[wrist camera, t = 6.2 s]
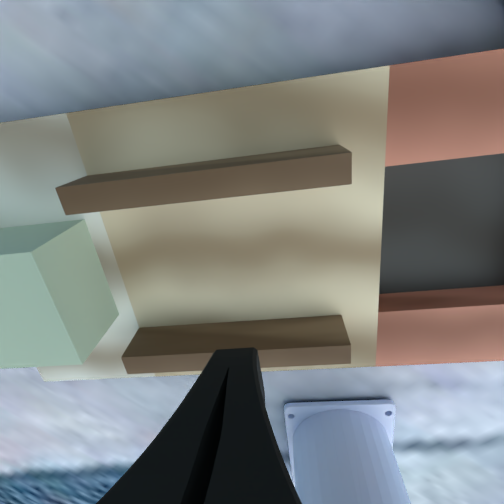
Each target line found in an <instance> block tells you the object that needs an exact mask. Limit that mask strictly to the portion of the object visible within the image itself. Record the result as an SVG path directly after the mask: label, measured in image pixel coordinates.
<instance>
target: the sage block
mask: <svg viewBox="0 0 504 504" xmlns="http://www.w3.org/2000/svg"><path fill="white" fill-rule="evenodd" d="M118 316H119V312H118V310H117V307H116V304H115V301H114V299H113V296H112V293H111V290H110V288H109V285H108V282H107V279H106V277H105V274H104V271H103V268H102V266H101V263H100V260H99V257H98V255H97V252H96V249H95V246H94V244H93V241H92V238H91V235H90V233H89V230H88V227H87V224H86V222H85V219H83V220H73V221H64V222H54V223H45V224H35V225H26V226H16V227H7V228H0V369H4V368H24V367H43V366H63V365H82V364H83V363H84V362H85V360H86V359H87V358H88V356H89V355H90V354H91V352H92V351H93V350H94V348H95V347H96V345H97V344H98V343H99V341H100V340H101V339H102V337H103V336H104V335H105V333H106V332H107V331H108V329H109V328H110V326H111V325H112V324H113V322H114V321H115V320H116V318H117V317H118Z"/></svg>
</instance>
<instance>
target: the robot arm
mask: <svg viewBox="0 0 504 504" xmlns="http://www.w3.org/2000/svg"><path fill="white" fill-rule="evenodd" d="M395 413H396V406H395V403H394V402H393V401H392V400H388V399H386V400H357V401H328V402H299V403H287V404H285V406H284V416H285V424H286V433H287V441H288V449H289V457H290V465H291V474H292V480H291V478H290V475H289V473H288V471H287V468H286V466H285V463H284V460H283V458H282V455H281V453H280V450H279V447H278V445H277V442H276V439H275V436H274V433H273V430H272V427H271V424H270V421H269V418H268V415H267V411H266V408H265V393H264V386H263V380H262V374H261V368H260V362H259V356H258V350H257V349H255V348H254V347H250V348H234V349H218V350H216V351H215V352H214V353H213V354H212V356H211V358H210V359H209V361H208V363H207V364H206V366H205V368H204V369H203V371H202V372H201V374H200V376H199V377H198V379H197V380H196V382H195V383H194V385H193V387H192V388H191V389H190V391H189V392H188V394H187V395H186V397H185V398H184V400H183V401H182V403H181V404H180V406H179V407H178V408H177V410H176V411H175V413H174V414H173V415H172V417H171V418H170V419H169V421H168V422H167V423H166V425H165V426H164V427H163V429H162V430H161V431H160V433H159V434H158V435H157V436H156V438H155V439H154V440H153V441H152V443H151V444H150V445H149V446H148V447H147V449H146V450H145V451H144V452H143V453H142V455H141V456H140V457H139V458H138V459H137V460H136V461H135V463H134V464H133V465H132V466H131V467H130V468H129V469H128V471H127V472H126V473H125V474H124V475H123V476H122V477H121V478H120V479H119V480H118V481H117V482H116V483H115V485H114V486H113V487H112V488H111V489H110V490H109V491H108V492H107V493H106V494H105V495H104V496H103V497H102V498H101V499H100V500H99V501H98V502H97V503H96V504H411V502H410V499H409V496H408V493H407V490H406V487H405V485H404V482H403V479H402V476H401V473H400V470H399V467H398V464H397V461H396V458H395V455H394V452H393V449H392V447H393V436H394V424H395ZM292 481H293V482H294V483H295V487H294V485H293V482H292Z"/></svg>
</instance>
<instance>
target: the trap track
mask: <svg viewBox="0 0 504 504" xmlns="http://www.w3.org/2000/svg"><path fill="white" fill-rule="evenodd" d="M83 219H85V222H86V224H87V227H88V230H89V233H90V235H91V238H92V241H93V244H94V246H95V249H96V252H97V255H98V257H99V260H100V263H101V266H102V268H103V271H104V274H105V277H106V279H107V282H108V285H109V288H110V290H111V293H112V296H113V299H114V301H115V304H116V307H117V310H118V312H119V316H118V317H117V318H116V320H115V321H114V322H113V324H112V325H111V326H110V328H109V329H108V331H107V332H106V333H105V335H104V336H103V337H102V339H101V340H100V341H99V343H98V344H97V345H96V347H95V348H94V350H93V351H92V352H91V354H90V355H89V356H88V358H87V359H86V360H85V362H84V363H83V364H82V365H63V366H43V367H37V369H38V371H39V373H40V375H41V377H42V379H43V380H44V382H46V381H68V380H90V379H112V378H134V377H156V376H177V375H199V374H201V372H202V371H203V369H204V368H205V366H206V364H207V363H208V361H209V359H210V358H211V356H212V354H213V353H214V352H215V351H216V350H218V349H234V348H250V347H254V348H255V349H257V350H258V356H259V362H260V368H261V372H265V371H287V370H309V369H330V368H352V367H374V366H396V365H418V364H440V363H462V362H483V361H504V49H497V50H490V51H483V52H476V53H470V54H463V55H456V56H449V57H443V58H436V59H429V60H422V61H415V62H409V63H402V64H395V65H388V66H382V67H375V68H368V69H361V70H354V71H348V72H341V73H334V74H327V75H321V76H314V77H307V78H300V79H293V80H287V81H280V82H273V83H266V84H260V85H253V86H246V87H239V88H232V89H226V90H219V91H212V92H205V93H199V94H192V95H185V96H178V97H171V98H165V99H158V100H151V101H144V102H137V103H131V104H124V105H117V106H110V107H104V108H97V109H90V110H83V111H76V112H70V113H63V114H56V115H49V116H43V117H36V118H29V119H22V120H15V121H9V122H2V123H0V228H7V227H16V226H26V225H35V224H45V223H54V222H64V221H73V220H83Z"/></svg>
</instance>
